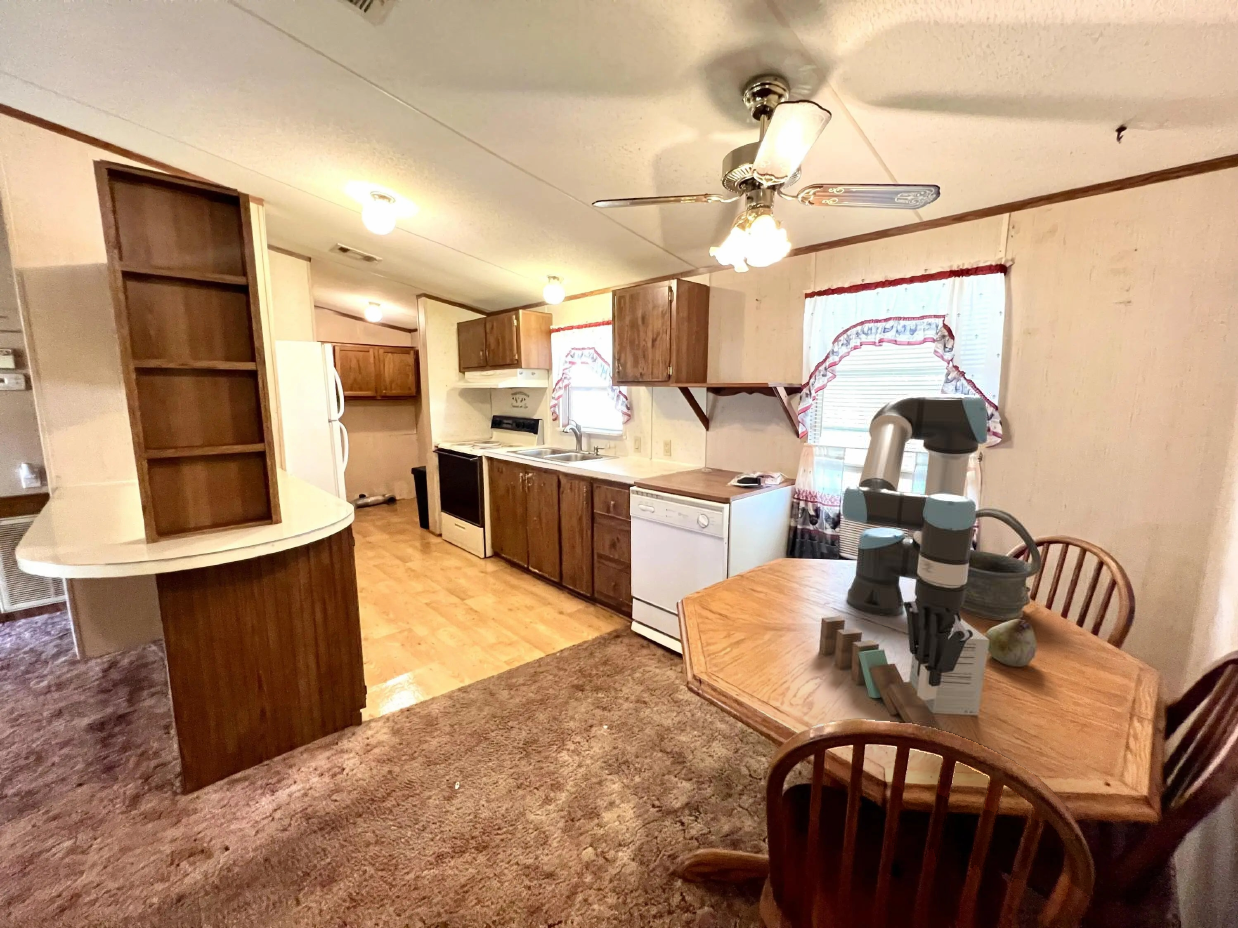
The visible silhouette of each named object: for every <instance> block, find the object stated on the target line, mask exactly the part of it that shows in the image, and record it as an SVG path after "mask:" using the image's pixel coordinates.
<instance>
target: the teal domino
mask: <svg viewBox="0 0 1238 928" xmlns="http://www.w3.org/2000/svg"><path fill="white" fill-rule="evenodd" d="M858 653H859V657H860V661H861V666H862V670H863V674H864V678H865V682H866V684H865V687H866V689H867V694H868V697H869V698H873V699H877V698H882V696H881V693H880V691H879V689H878V687H877V685H876V683H875V681H874V678H873V676H872V674H871V672H870V670H869V669H870V668H872V667H874V666H879V665H886V664H889V663H888V659H887V655H886V652H885V649H878V650H870V651H862V652H858Z"/></svg>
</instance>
